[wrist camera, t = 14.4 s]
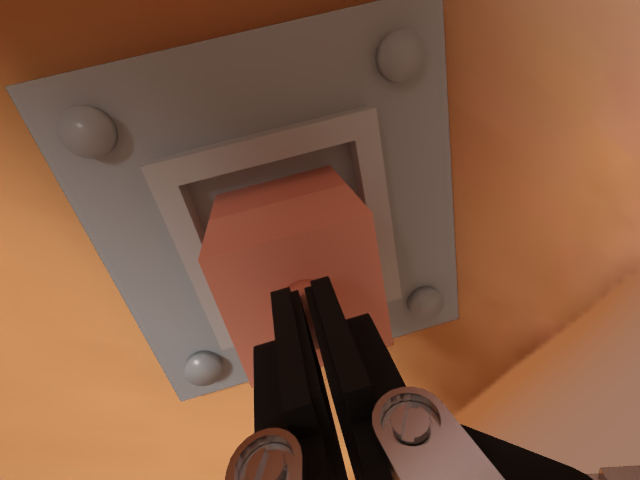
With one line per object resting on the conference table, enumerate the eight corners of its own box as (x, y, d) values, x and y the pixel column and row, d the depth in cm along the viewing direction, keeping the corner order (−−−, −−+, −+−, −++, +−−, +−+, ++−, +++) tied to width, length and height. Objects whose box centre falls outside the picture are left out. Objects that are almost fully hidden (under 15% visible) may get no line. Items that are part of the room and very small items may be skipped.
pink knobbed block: (215, 194, 15) (193, 274, 9) (329, 165, 16) (381, 222, 9) (250, 291, 17) (251, 407, 11) (349, 263, 18) (402, 361, 12)
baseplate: (21, 85, 13) (-19, 87, 11) (430, -9, 14) (458, -22, 12) (183, 387, 20) (176, 420, 18) (450, 308, 21) (470, 332, 20)
